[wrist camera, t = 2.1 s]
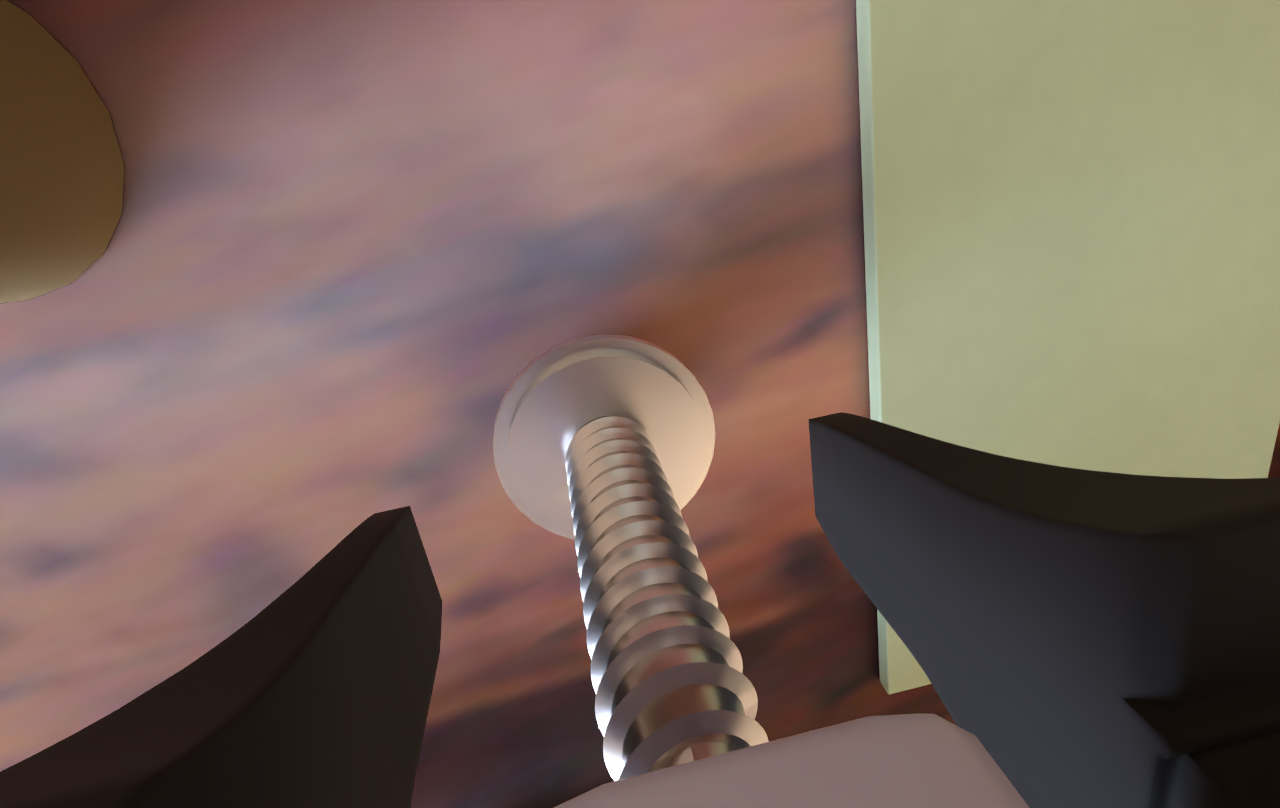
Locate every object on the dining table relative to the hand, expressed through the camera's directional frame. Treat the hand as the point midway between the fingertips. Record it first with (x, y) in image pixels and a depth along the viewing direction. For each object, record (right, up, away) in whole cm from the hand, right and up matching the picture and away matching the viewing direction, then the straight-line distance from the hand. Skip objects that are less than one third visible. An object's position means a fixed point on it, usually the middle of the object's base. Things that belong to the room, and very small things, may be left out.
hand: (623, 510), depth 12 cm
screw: (-1, +2, +5) cm, 5 cm away
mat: (+12, +4, +6) cm, 14 cm away
